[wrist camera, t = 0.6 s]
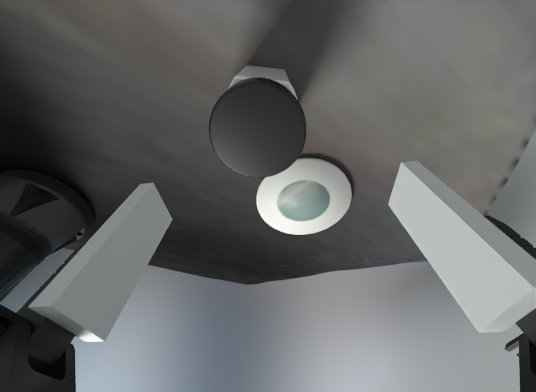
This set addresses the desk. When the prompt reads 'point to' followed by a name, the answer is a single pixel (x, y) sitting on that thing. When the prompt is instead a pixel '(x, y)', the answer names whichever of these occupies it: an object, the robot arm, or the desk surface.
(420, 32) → the desk surface
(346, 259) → the desk surface
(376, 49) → the desk surface
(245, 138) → the jar
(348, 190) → the plate
